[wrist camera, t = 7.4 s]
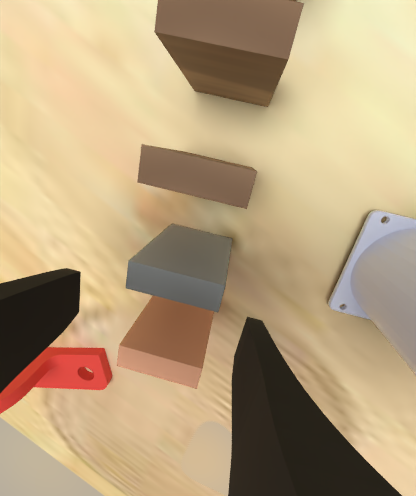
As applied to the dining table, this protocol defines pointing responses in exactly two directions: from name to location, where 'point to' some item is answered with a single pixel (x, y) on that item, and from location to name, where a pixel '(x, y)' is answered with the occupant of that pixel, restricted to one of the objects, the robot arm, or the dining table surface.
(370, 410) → the dining table surface
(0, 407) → the bracket
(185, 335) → the domino
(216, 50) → the domino
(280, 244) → the dining table surface
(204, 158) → the domino
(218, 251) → the gap domino
